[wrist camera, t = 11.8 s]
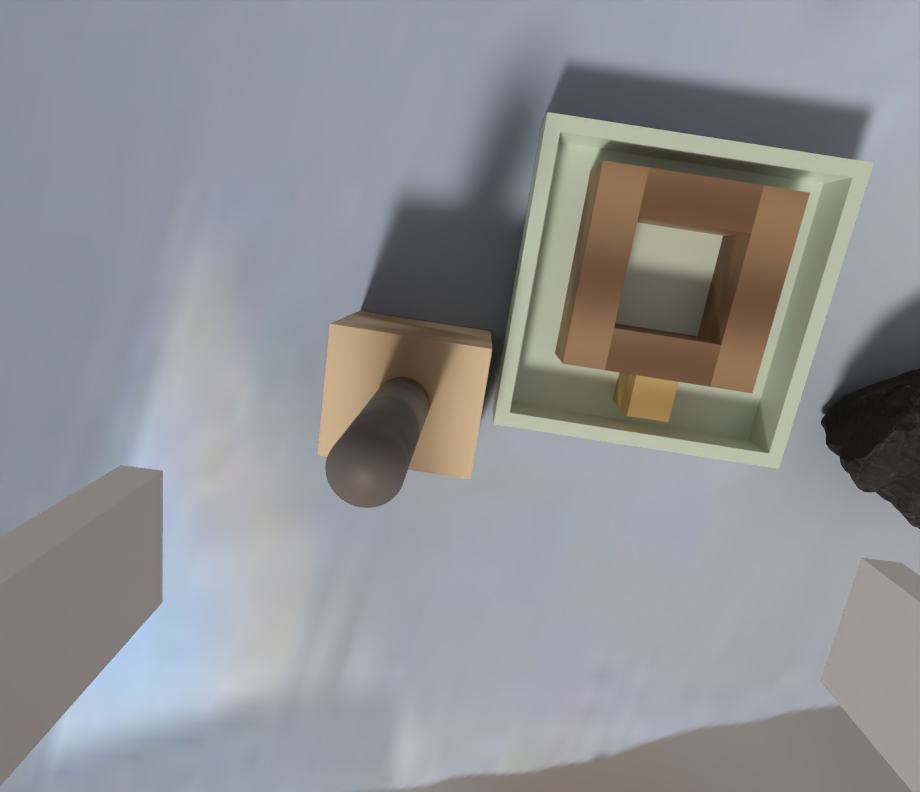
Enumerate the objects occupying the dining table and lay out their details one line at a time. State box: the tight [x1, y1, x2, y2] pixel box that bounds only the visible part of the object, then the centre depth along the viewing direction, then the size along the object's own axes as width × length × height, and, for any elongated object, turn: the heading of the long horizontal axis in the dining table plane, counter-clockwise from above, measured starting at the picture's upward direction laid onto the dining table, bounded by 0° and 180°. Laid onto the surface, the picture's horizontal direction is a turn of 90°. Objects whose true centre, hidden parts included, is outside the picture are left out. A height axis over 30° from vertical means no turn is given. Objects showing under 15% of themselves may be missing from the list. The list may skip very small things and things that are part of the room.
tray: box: [493, 112, 874, 469], centre depth 28 cm, size 14×14×3 cm
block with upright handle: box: [318, 311, 492, 508], centre depth 24 cm, size 7×6×14 cm
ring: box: [555, 160, 810, 422], centre depth 27 cm, size 11×9×3 cm
